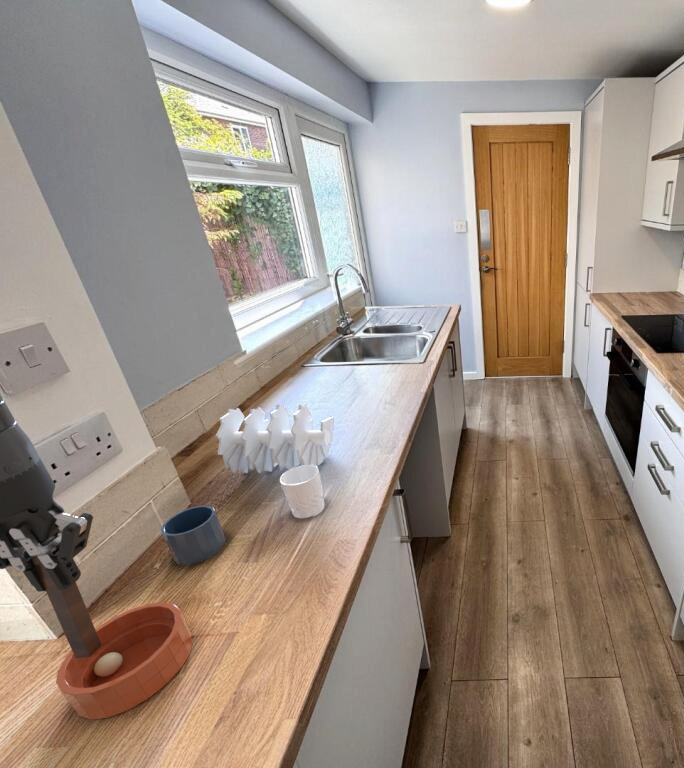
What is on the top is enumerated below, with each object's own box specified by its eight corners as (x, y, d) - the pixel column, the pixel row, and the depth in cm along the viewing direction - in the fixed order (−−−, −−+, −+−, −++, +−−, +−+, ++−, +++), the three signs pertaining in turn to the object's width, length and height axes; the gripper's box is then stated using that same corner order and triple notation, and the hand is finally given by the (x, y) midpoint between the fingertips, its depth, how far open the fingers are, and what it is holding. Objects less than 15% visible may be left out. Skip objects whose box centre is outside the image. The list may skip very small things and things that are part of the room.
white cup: (327, 516, 92) (317, 479, 88) (288, 525, 89) (277, 488, 85) (327, 495, 99) (319, 461, 95) (292, 504, 96) (281, 469, 92)
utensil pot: (165, 569, 79) (149, 537, 76) (192, 536, 87) (180, 507, 84) (211, 565, 80) (198, 533, 77) (234, 533, 88) (223, 503, 85)
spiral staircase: (328, 484, 110) (231, 486, 108) (342, 430, 121) (255, 432, 119) (306, 447, 96) (195, 449, 94) (325, 391, 108) (226, 392, 106)
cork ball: (101, 671, 61) (97, 652, 61) (127, 662, 62) (124, 644, 62) (92, 685, 58) (88, 665, 58) (119, 675, 60) (115, 656, 59)
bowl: (47, 728, 54) (25, 700, 52) (125, 632, 67) (110, 607, 65) (154, 714, 56) (137, 687, 53) (212, 623, 68) (200, 598, 66)
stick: (75, 658, 53) (30, 557, 49) (87, 646, 55) (45, 547, 50) (90, 657, 53) (46, 555, 49) (102, 644, 55) (61, 545, 50)
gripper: (86, 447, 48) (140, 556, 55) (-42, 455, 47) (30, 566, 54) (22, 485, 41) (93, 605, 48) (-129, 496, 40) (-34, 617, 47)
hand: (60, 584), depth 51 cm, fingers closed on stick, 2 cm apart
